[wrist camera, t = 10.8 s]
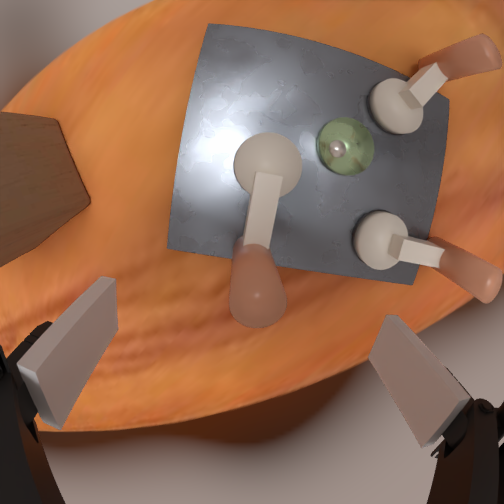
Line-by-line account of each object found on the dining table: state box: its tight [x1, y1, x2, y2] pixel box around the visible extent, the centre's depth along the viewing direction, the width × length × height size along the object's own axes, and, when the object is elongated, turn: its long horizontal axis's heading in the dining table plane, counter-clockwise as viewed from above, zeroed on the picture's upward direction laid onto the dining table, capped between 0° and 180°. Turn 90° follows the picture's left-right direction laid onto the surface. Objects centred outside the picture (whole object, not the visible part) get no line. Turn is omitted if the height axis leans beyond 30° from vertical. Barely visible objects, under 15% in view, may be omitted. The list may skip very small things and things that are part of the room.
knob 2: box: [370, 34, 502, 134], centre depth 14 cm, size 11×5×9 cm, turn 137°
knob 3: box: [354, 211, 503, 303], centre depth 19 cm, size 11×5×9 cm, turn 80°
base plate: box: [167, 24, 449, 285], centre depth 21 cm, size 24×20×2 cm
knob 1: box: [229, 132, 302, 328], centre depth 17 cm, size 11×5×9 cm, turn 170°
